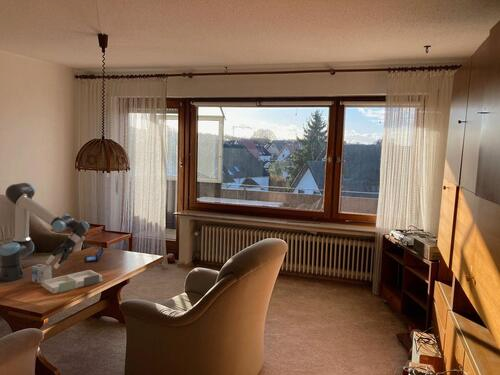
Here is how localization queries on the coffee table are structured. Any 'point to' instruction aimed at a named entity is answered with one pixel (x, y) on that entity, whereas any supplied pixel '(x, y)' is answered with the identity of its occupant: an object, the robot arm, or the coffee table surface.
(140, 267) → the coffee table surface
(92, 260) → the handheld game console
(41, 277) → the light bulb box
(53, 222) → the robot arm
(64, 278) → the tagged dock
